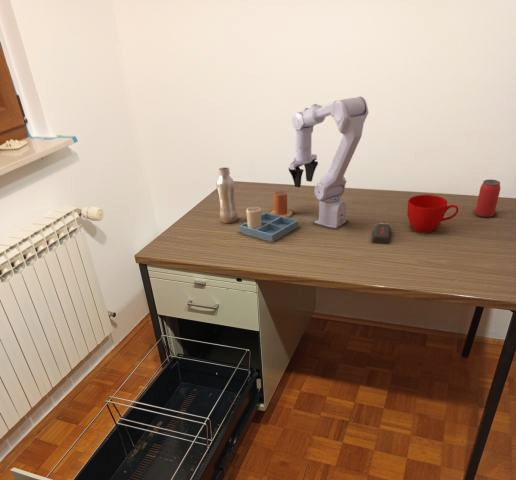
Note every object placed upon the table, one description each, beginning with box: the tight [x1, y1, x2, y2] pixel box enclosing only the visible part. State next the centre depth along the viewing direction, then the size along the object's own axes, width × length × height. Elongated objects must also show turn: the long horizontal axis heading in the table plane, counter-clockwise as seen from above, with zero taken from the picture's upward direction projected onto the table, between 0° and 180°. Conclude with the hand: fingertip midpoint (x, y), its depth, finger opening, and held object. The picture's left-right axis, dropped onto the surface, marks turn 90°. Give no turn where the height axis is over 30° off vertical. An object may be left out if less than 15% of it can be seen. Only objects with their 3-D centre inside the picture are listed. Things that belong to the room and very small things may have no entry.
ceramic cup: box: [406, 194, 460, 234], centre depth 170 cm, size 13×17×10 cm
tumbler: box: [273, 190, 288, 215], centre depth 189 cm, size 5×5×8 cm
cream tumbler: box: [245, 206, 262, 229], centre depth 176 cm, size 5×5×8 cm
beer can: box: [474, 179, 501, 218], centre depth 178 cm, size 7×7×12 cm
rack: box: [238, 212, 299, 242], centre depth 178 cm, size 15×15×3 cm
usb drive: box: [372, 223, 392, 244], centre depth 170 cm, size 5×12×3 cm, turn 164°
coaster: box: [269, 208, 294, 218], centre depth 191 cm, size 9×9×1 cm
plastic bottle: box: [216, 167, 238, 224], centre depth 182 cm, size 6×7×20 cm
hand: (303, 183), depth 188 cm, fingers open, 7 cm apart
